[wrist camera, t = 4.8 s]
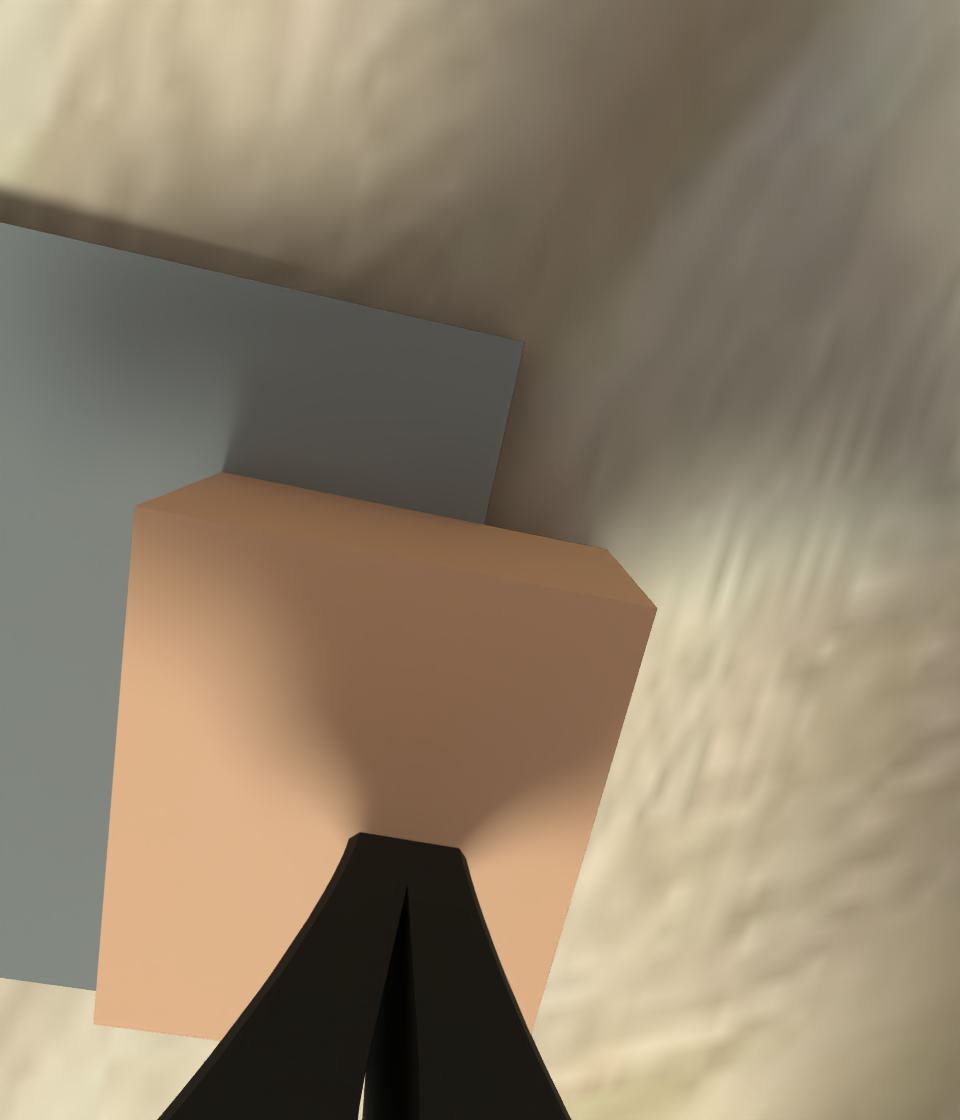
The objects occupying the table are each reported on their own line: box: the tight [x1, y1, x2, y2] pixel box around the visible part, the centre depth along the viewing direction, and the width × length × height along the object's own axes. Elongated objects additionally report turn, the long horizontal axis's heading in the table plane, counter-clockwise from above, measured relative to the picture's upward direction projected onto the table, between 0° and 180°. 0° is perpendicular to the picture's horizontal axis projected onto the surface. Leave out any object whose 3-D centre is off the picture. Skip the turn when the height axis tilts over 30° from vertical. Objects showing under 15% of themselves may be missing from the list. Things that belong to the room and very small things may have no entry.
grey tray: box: [0, 222, 524, 991], centre depth 12 cm, size 11×14×2 cm
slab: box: [94, 472, 657, 1041], centre depth 11 cm, size 3×8×6 cm
